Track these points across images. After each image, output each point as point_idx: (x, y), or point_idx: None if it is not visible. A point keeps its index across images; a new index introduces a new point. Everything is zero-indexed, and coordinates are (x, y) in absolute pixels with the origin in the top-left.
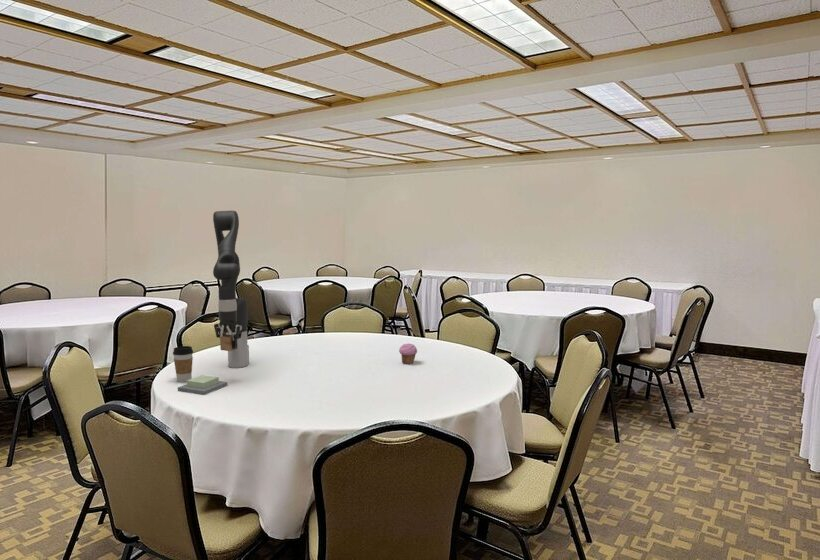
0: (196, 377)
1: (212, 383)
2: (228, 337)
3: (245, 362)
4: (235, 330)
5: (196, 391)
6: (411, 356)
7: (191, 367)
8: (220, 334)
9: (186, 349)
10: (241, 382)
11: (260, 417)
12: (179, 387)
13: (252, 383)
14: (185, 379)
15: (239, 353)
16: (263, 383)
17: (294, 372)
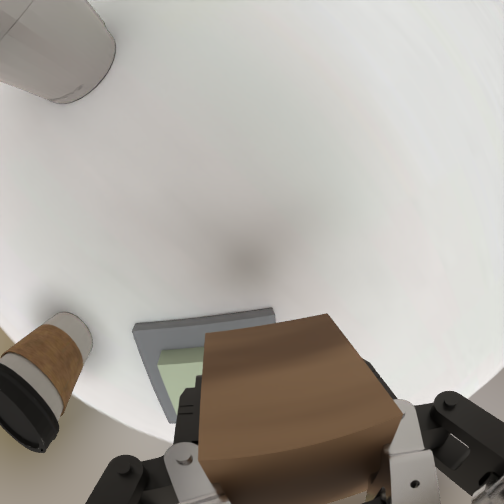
0: (173, 393)
1: None
2: (354, 493)
3: (108, 43)
4: (432, 492)
5: None
6: None
7: (67, 352)
8: (145, 496)
9: (46, 440)
10: (293, 245)
11: (462, 384)
12: (175, 422)
13: (346, 232)
14: (89, 352)
15: (72, 51)
16: (382, 210)
17: (376, 37)
